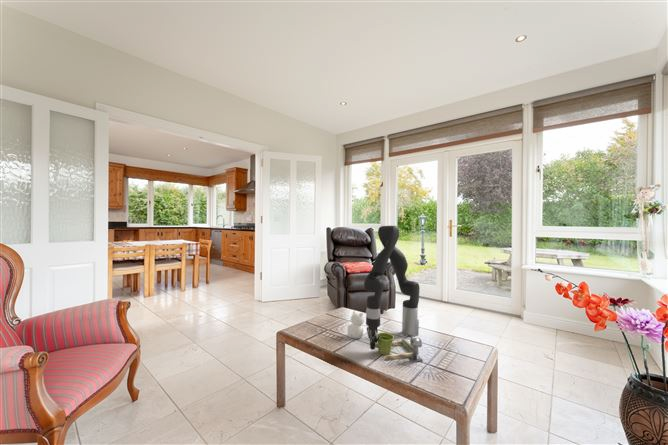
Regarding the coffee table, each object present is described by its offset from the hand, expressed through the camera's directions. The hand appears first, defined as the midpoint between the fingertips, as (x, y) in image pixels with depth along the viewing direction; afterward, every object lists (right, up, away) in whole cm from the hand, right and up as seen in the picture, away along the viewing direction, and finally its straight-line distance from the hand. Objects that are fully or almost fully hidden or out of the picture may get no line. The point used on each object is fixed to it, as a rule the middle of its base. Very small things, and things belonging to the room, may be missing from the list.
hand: (372, 348), depth 140 cm
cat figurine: (-8, -3, +20) cm, 22 cm away
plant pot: (+7, -3, +1) cm, 7 cm away
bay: (+13, -3, +3) cm, 14 cm away
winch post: (+20, -3, -6) cm, 21 cm away
